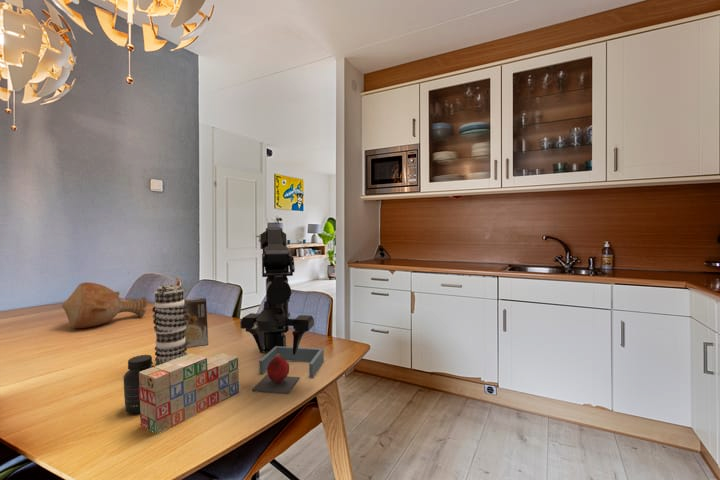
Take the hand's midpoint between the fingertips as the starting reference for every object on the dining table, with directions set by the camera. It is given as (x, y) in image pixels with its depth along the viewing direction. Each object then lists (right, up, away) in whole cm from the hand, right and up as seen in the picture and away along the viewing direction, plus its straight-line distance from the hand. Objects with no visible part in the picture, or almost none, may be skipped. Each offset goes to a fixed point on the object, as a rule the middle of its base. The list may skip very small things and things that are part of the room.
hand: (278, 353), depth 93 cm
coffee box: (-38, -8, +33) cm, 51 cm away
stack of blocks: (-17, -10, -11) cm, 23 cm away
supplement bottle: (-30, -10, -11) cm, 33 cm away
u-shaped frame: (+2, -8, +12) cm, 14 cm away
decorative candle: (-35, -8, +12) cm, 38 cm away
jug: (-89, -6, +59) cm, 107 cm away
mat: (-1, -9, +1) cm, 9 cm away
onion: (0, -8, +1) cm, 9 cm away
